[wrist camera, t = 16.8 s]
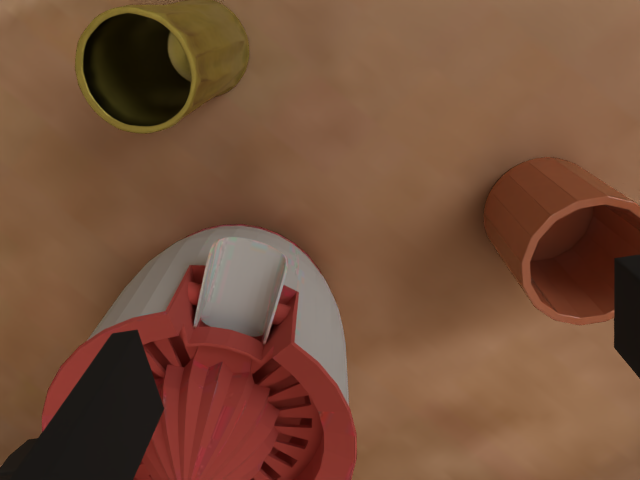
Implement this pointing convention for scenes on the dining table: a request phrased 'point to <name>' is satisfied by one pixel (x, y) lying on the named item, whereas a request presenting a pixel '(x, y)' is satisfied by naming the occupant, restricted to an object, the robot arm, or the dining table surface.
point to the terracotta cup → (562, 236)
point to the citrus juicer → (234, 360)
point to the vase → (159, 62)
